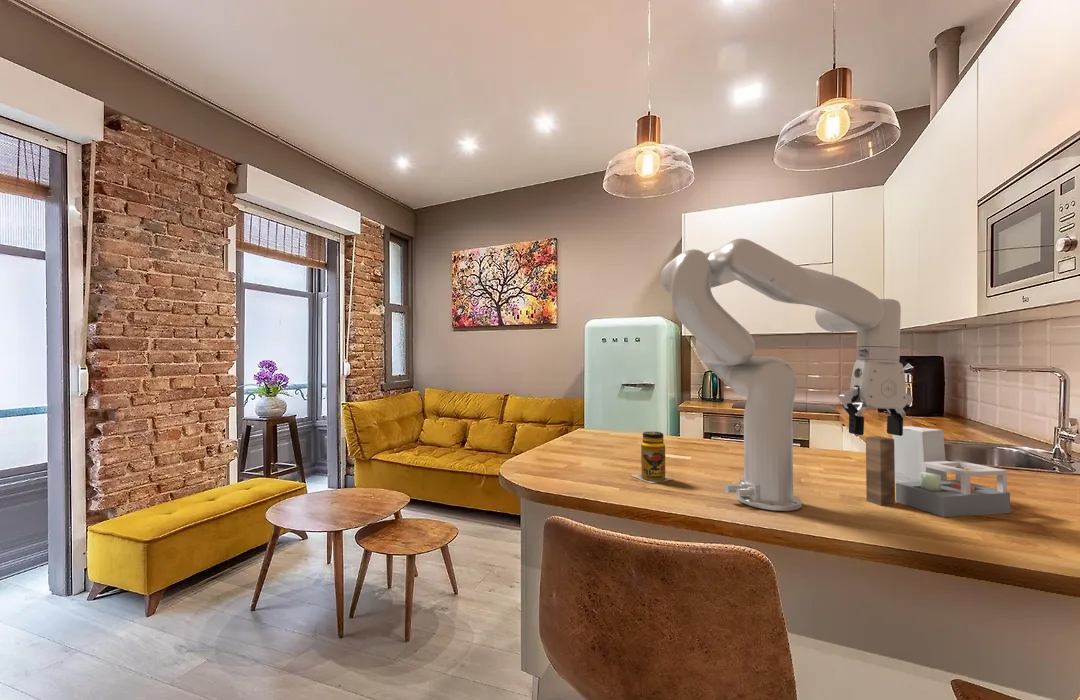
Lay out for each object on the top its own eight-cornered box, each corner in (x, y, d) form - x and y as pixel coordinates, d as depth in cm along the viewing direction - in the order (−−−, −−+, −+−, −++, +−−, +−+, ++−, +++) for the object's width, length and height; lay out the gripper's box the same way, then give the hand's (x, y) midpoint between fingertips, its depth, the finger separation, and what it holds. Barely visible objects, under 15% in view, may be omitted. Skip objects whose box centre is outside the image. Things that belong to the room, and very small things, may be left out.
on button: (932, 494, 92) (931, 476, 92) (916, 490, 95) (916, 472, 95) (945, 494, 93) (944, 476, 93) (929, 489, 96) (929, 472, 96)
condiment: (651, 483, 112) (651, 435, 112) (630, 476, 120) (629, 430, 120) (673, 480, 116) (673, 433, 116) (651, 472, 123) (650, 428, 123)
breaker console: (944, 517, 88) (943, 474, 89) (896, 501, 98) (895, 462, 98) (1010, 512, 91) (1009, 471, 91) (957, 497, 101) (956, 460, 101)
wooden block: (881, 505, 96) (880, 439, 96) (866, 500, 99) (865, 436, 99) (895, 504, 96) (894, 439, 96) (880, 499, 100) (879, 436, 100)
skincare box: (948, 495, 103) (947, 430, 103) (925, 496, 102) (924, 430, 102) (913, 485, 111) (912, 424, 111) (891, 486, 110) (890, 425, 110)
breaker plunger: (965, 503, 93) (964, 487, 93) (946, 498, 97) (946, 483, 97) (979, 502, 94) (979, 486, 94) (960, 497, 97) (960, 482, 97)
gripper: (857, 354, 93) (855, 437, 93) (928, 357, 96) (926, 438, 96) (829, 354, 101) (826, 431, 100) (895, 357, 103) (893, 432, 103)
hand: (875, 434), depth 98 cm, fingers open, 9 cm apart
